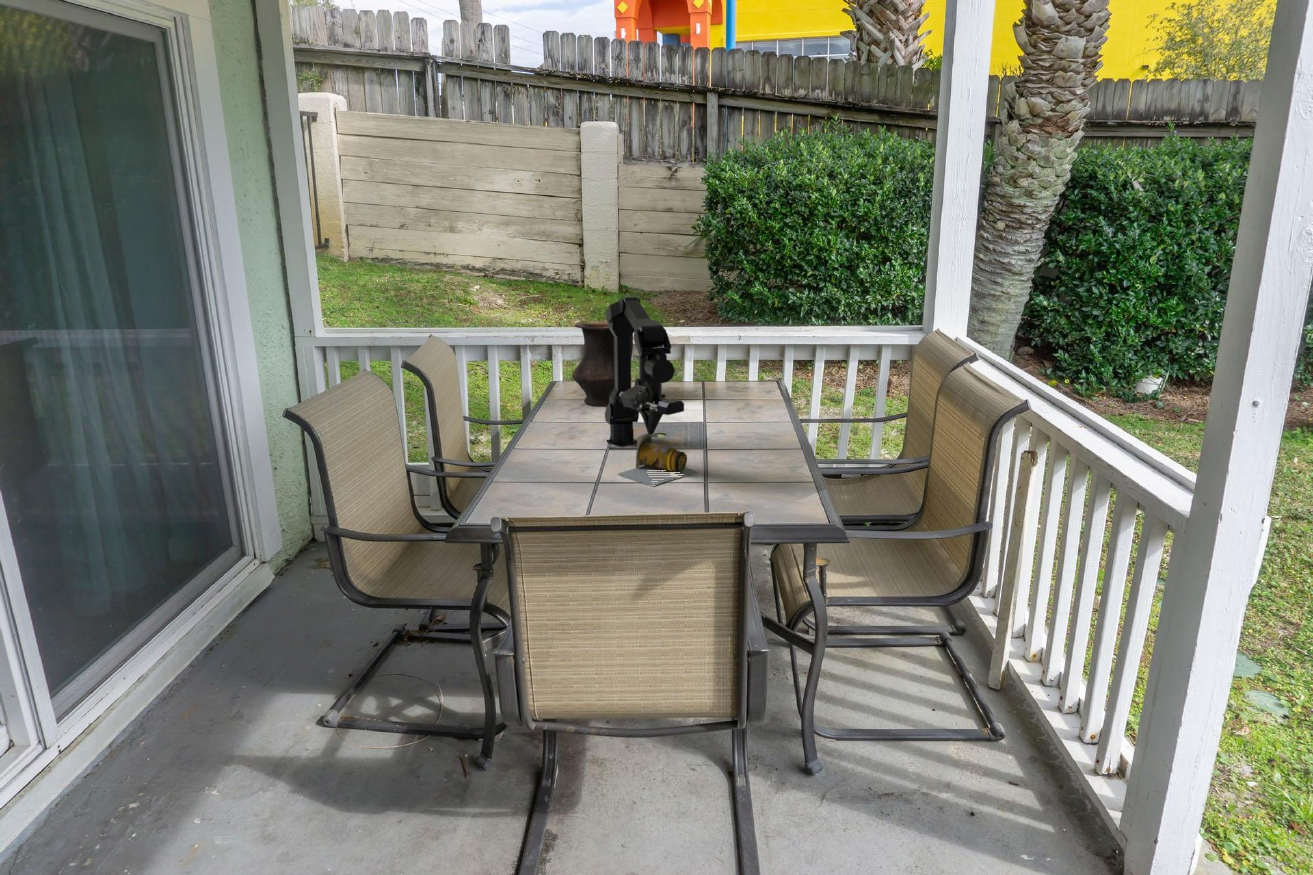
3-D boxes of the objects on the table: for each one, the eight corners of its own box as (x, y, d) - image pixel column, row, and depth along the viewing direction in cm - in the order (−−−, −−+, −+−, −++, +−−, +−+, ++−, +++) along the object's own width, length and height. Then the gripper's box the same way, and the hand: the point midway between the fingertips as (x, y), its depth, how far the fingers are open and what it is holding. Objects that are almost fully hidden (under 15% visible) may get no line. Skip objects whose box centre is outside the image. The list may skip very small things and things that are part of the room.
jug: (563, 407, 294) (560, 317, 286) (584, 394, 311) (581, 308, 303) (624, 412, 288) (622, 320, 280) (641, 399, 305) (641, 311, 297)
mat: (617, 474, 229) (617, 473, 229) (661, 461, 240) (661, 460, 240) (652, 486, 220) (652, 485, 220) (697, 472, 231) (697, 471, 231)
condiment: (635, 468, 232) (675, 477, 227) (637, 437, 230) (677, 445, 224) (649, 462, 238) (688, 471, 233) (651, 431, 236) (691, 440, 230)
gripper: (601, 373, 225) (603, 433, 230) (653, 385, 212) (653, 448, 217) (634, 367, 233) (634, 424, 237) (685, 378, 220) (685, 439, 224)
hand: (650, 434), depth 228 cm, fingers closed
